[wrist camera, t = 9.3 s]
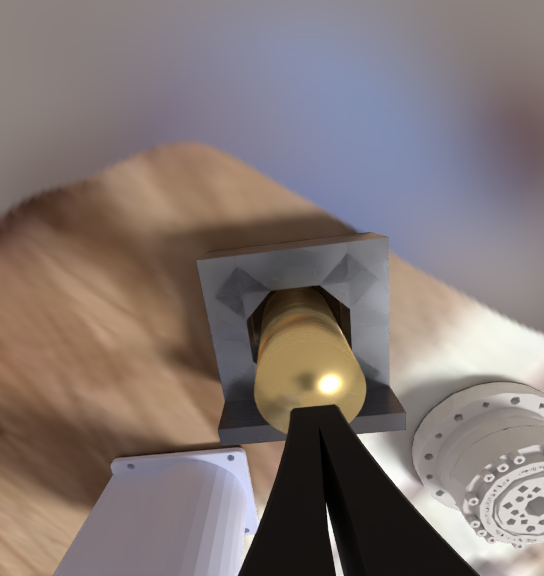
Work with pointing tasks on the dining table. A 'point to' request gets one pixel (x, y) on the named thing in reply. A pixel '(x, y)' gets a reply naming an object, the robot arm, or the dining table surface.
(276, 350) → the brass cylinder rod
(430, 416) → the mechanical component
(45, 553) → the dining table surface
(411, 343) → the dining table surface
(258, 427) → the jig
